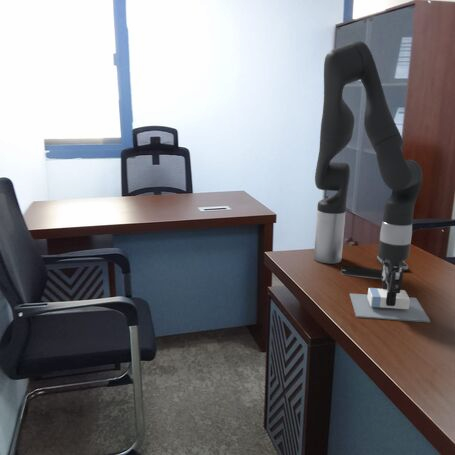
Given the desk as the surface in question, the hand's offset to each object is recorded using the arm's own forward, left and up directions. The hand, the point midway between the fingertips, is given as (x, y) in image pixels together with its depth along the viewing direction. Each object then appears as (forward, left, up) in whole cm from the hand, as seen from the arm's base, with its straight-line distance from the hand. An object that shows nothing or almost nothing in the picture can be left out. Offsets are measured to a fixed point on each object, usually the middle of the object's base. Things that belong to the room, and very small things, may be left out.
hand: (387, 299), depth 123 cm
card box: (0, 0, -1) cm, 1 cm away
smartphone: (-25, -2, -3) cm, 25 cm away
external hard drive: (-34, +8, -3) cm, 35 cm away
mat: (0, 0, -2) cm, 2 cm away
